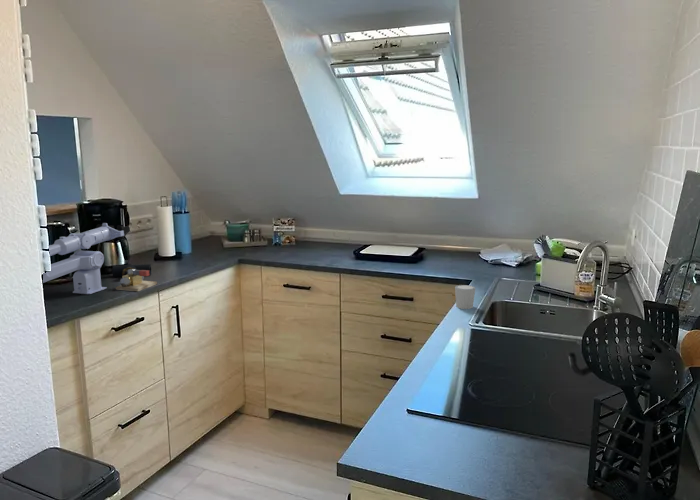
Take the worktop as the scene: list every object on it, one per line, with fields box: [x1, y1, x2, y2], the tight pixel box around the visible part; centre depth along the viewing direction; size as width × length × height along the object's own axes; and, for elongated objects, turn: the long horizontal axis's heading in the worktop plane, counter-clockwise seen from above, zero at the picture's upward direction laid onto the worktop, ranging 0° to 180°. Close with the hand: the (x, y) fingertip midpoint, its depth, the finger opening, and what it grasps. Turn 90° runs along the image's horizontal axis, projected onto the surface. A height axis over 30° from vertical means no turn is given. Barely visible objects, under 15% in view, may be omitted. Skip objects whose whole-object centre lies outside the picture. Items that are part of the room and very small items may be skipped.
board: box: [115, 280, 158, 292], centre depth 215 cm, size 12×10×1 cm
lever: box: [128, 269, 150, 277], centre depth 214 cm, size 9×3×2 cm, turn 73°
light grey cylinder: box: [454, 284, 476, 310], centre depth 186 cm, size 7×7×7 cm
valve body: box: [119, 275, 145, 287], centre depth 215 cm, size 10×5×4 cm, turn 163°
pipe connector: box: [111, 263, 152, 278], centre depth 231 cm, size 12×5×15 cm
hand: (121, 228), depth 223 cm, fingers open, 7 cm apart
